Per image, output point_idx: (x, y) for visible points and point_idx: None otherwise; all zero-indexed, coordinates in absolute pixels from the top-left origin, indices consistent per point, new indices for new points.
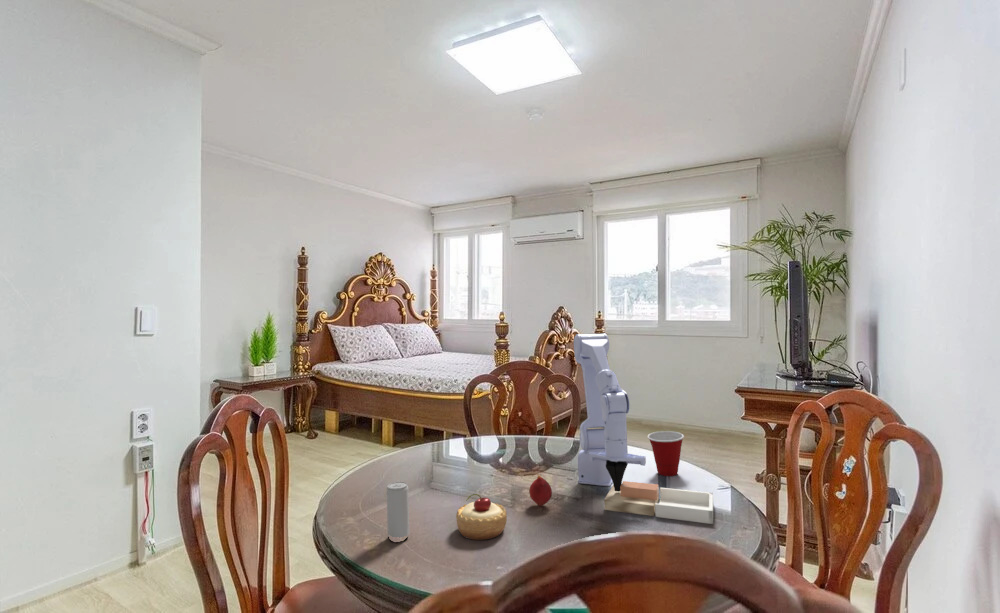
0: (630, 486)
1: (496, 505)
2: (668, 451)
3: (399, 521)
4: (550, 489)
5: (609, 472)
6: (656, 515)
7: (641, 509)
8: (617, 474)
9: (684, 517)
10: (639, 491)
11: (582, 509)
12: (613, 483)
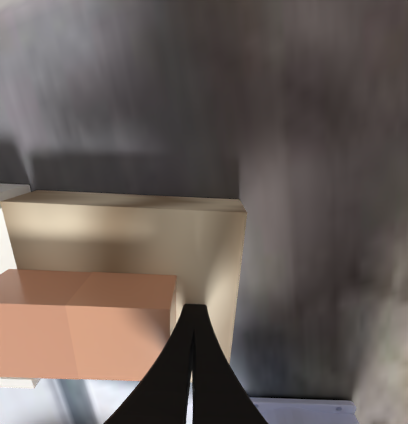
0: (114, 321)
1: None
2: None
3: None
4: None
5: (244, 398)
6: (21, 186)
7: (75, 197)
8: (177, 386)
9: None
10: (68, 293)
11: (332, 177)
12: (211, 330)
